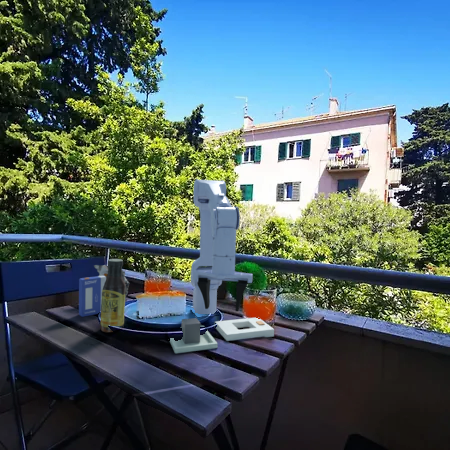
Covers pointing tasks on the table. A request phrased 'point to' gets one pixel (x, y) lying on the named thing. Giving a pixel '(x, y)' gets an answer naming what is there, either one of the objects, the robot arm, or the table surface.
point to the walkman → (90, 295)
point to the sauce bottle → (113, 297)
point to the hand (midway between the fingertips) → (222, 308)
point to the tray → (194, 344)
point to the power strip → (256, 329)
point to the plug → (191, 330)
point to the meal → (104, 272)
